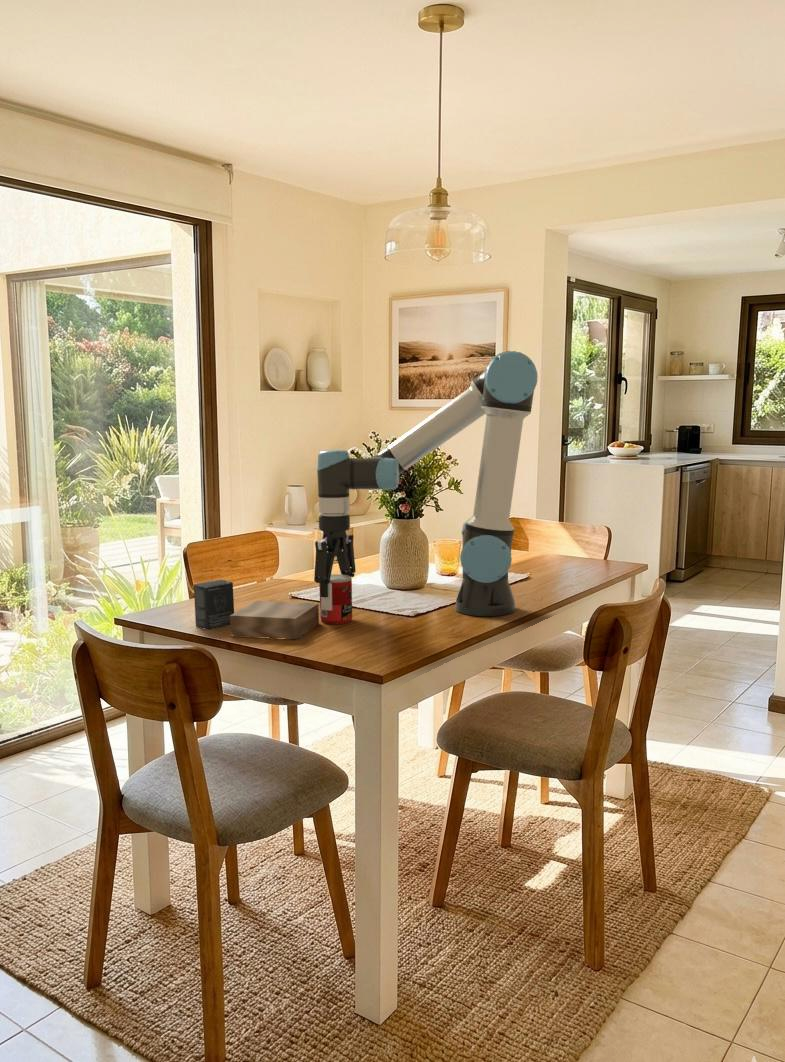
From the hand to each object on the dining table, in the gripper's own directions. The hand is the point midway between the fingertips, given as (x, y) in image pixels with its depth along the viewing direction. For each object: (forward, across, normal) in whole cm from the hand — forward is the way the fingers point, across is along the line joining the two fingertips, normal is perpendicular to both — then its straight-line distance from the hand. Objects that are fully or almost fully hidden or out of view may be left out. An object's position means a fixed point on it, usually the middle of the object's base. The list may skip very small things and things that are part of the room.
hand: (336, 606), depth 224 cm
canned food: (+4, 0, 0) cm, 4 cm away
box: (+4, +17, -24) cm, 30 cm away
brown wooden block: (+4, +14, -8) cm, 17 cm away
